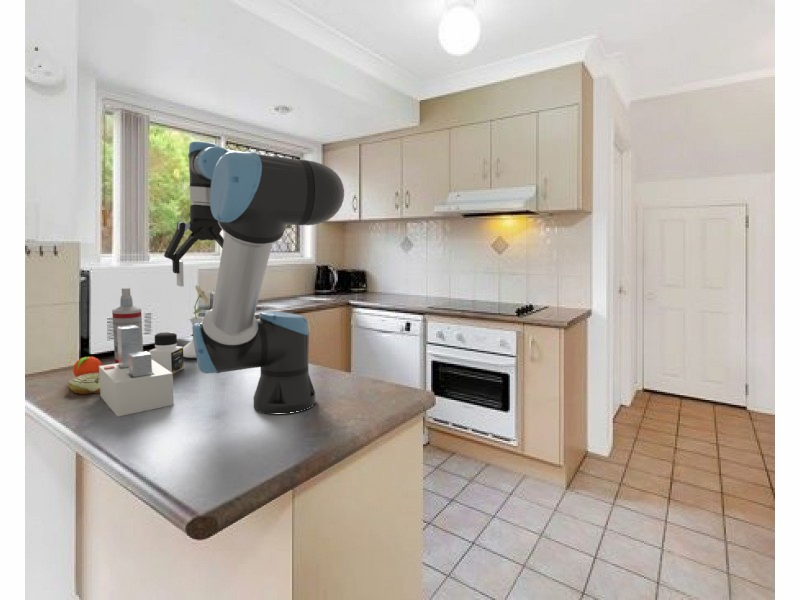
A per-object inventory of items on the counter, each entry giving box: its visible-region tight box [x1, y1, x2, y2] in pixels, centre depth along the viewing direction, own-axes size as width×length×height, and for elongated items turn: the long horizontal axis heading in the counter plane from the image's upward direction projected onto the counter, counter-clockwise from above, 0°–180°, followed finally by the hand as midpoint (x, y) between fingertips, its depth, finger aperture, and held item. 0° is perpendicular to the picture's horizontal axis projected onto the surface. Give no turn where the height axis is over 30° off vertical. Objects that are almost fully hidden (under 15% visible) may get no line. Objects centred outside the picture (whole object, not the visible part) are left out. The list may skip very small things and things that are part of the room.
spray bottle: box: [111, 287, 144, 364], centre depth 142 cm, size 8×8×25 cm
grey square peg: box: [128, 350, 152, 378], centre depth 108 cm, size 4×4×13 cm
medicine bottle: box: [148, 331, 185, 375], centre depth 138 cm, size 7×7×12 cm
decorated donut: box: [68, 373, 100, 395], centre depth 120 cm, size 10×11×4 cm
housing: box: [99, 359, 175, 418], centre depth 112 cm, size 12×18×8 cm, turn 44°
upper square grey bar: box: [117, 325, 140, 369], centre depth 115 cm, size 4×4×18 cm
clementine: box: [72, 356, 103, 377], centre depth 126 cm, size 8×7×7 cm
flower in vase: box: [182, 284, 211, 359], centre depth 156 cm, size 13×11×25 cm
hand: (206, 284), depth 121 cm, fingers open, 13 cm apart
